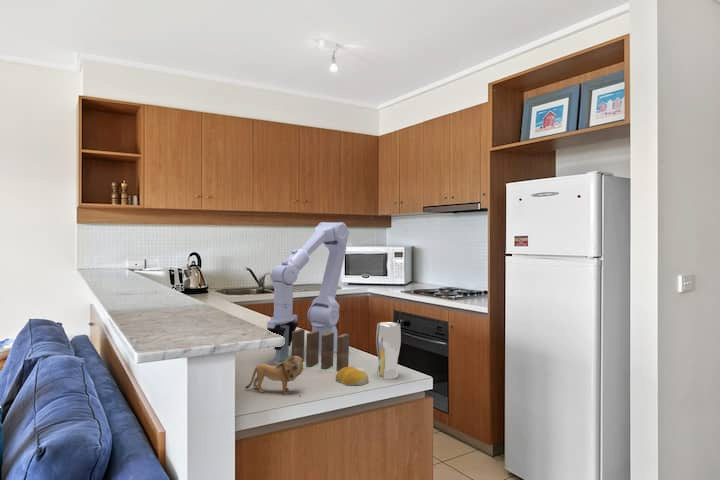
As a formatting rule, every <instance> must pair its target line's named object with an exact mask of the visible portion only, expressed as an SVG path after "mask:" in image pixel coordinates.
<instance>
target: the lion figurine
mask: <svg viewBox="0 0 720 480" xmlns="http://www.w3.org/2000/svg"><path fill="white" fill-rule="evenodd" d="M303 370H304V368H303V359H301V357H298V356H293V357H289V359H288V360H287V361H285V362H282V363H281V364H277V366H274V365H269V364H267V363H260V364H258V365H257V366H256V367H255V368H254V370H253V372H252V376H251V380H250V382H249V384H247V385H246V386H245V387H244V389H246V390H247V389H249V388H250V387H251V386H252V387H253V388H254V389H258V392H259V393H260V394H263V393H265V389H262V388H263V387H262V384H263V381H264V379H265V377H266V378H267V379H268V380H270V381H272V382H281V386H282V393H283V395H289V393H290V392H289V388H288V383H289V382H293V381H295V380H296V378H298V377H299V376H300V375H301V374H302V372H303Z"/></svg>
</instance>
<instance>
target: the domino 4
mask: <svg viewBox="0 0 720 480" xmlns="http://www.w3.org/2000/svg"><path fill="white" fill-rule="evenodd" d="M333 351H334V333H333V332H328V333H326V334H323V335H322V346H321V354H320V358H321V359H320V363H321V369H325V370H326V369H328V368H330V367H331V366H333V365H334V353H333Z"/></svg>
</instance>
